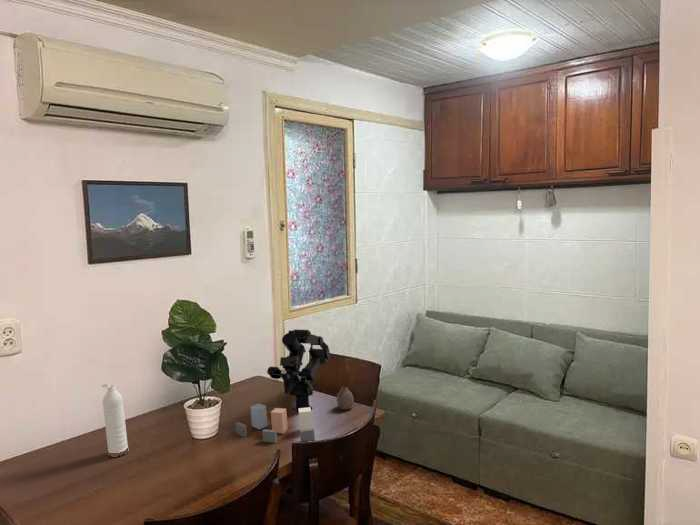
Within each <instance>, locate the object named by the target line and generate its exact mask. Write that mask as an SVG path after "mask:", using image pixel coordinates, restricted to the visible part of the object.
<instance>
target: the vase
mask: <svg viewBox="0 0 700 525" xmlns="http://www.w3.org/2000/svg"><path fill="white" fill-rule="evenodd" d="M336 403H337V407H339V409H340V410H343V411H347V410H350V409H352V407H353V405H354V395H353V393H352V392H351V390H350V389H349V388H348V386H342V387H341V388H340V390H339V392H338V393H337V396H336Z"/></svg>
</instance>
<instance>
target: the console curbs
mask: <svg viewBox="0 0 700 525" xmlns="http://www.w3.org/2000/svg"><path fill="white" fill-rule="evenodd" d="M234 426H235V434H236V435H238V436H240V437H243V438H245V437H247V436H248V429H247V425H246V424H244V423H242V422H239V421H237V422H235V423H234ZM261 432H262V435H261V436H262V442H263V443H274V444H276V443H277V442H278V433H277V430H272V429H265V428H263V429H262V431H261ZM299 437H300V442H301V441H309V442H312V441H311V440H315V438H316V437H315V428H314V427H312V429H305V430H300V429H299ZM315 441H316V440H315Z"/></svg>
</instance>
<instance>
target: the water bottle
mask: <svg viewBox="0 0 700 525" xmlns="http://www.w3.org/2000/svg"><path fill="white" fill-rule="evenodd" d="M101 386H102V388H107V389H106V390H107V391H106V393H105V395H104V397H103V399H102V407H103V414H104V416H103V417H104V425H105V427H104V428H105V434H106V442H107V453H108V452H109V453H120V452H123V451H125V450H126V449H127V448H128V449H129V444H128V437H127V436H128V435H127V427H126V426H127V425H126V418H125V409H124V398H123V396H122V394H121V393H120V392H119V391H118V390H117V389H116V385H114V384H112V385H111V383H110V382H104V383H102V385H101Z"/></svg>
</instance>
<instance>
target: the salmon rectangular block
mask: <svg viewBox="0 0 700 525" xmlns="http://www.w3.org/2000/svg"><path fill="white" fill-rule="evenodd" d="M270 418H271V419H270V421H271V430H277V434H284V433H285V432H286V431H287V430H288V428H289V426H288V415H287V408H283V407H282V408H281V407H274V409H273V410H272V411H270Z"/></svg>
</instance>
